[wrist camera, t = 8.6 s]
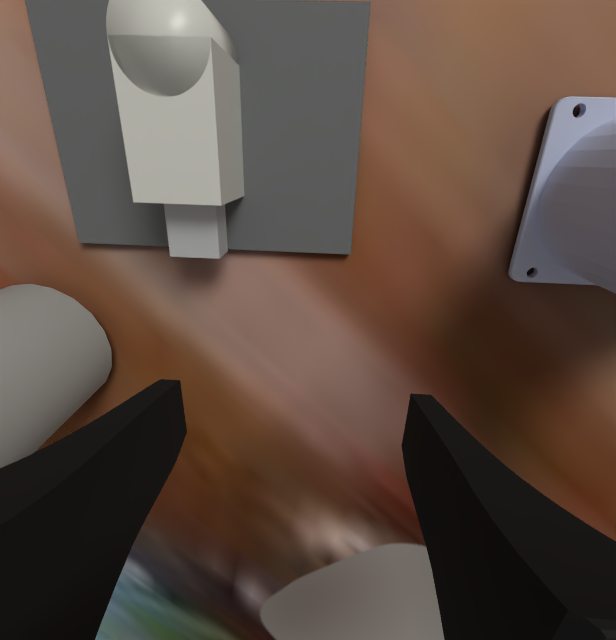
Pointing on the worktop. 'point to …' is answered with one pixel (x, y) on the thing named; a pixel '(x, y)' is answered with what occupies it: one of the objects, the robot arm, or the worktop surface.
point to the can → (45, 365)
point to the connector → (179, 116)
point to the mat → (256, 117)
